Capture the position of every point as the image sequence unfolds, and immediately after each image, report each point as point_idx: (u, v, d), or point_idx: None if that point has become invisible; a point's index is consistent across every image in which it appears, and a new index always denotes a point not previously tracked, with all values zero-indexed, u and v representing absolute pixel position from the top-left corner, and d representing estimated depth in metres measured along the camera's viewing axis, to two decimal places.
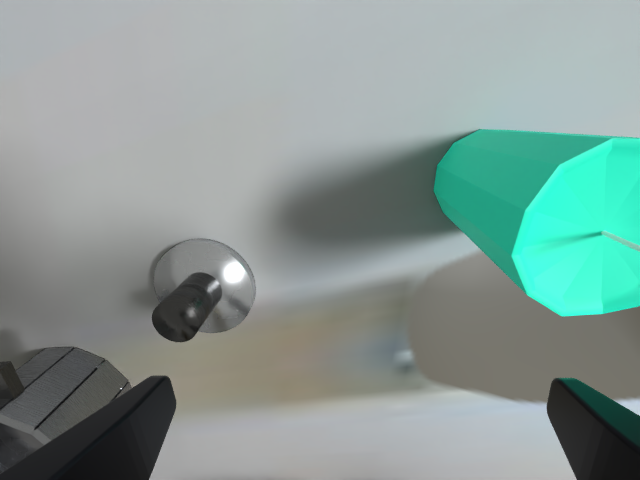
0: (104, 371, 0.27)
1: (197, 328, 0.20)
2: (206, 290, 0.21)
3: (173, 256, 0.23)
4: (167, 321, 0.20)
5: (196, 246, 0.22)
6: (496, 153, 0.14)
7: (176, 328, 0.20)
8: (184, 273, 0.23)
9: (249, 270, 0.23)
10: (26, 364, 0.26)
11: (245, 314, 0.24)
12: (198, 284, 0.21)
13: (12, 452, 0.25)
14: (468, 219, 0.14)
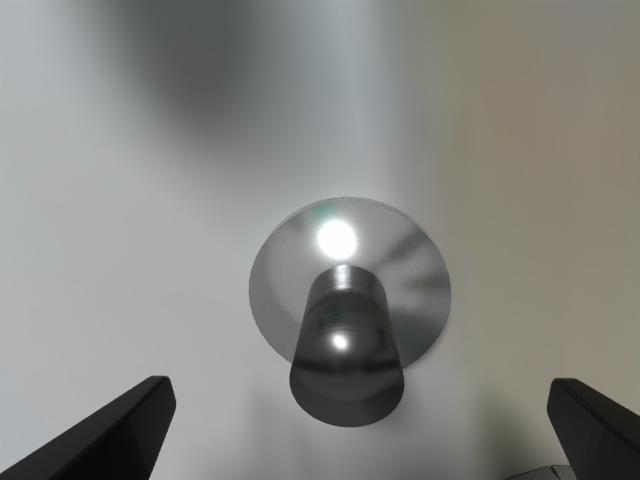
0: None
1: (366, 339, 0.08)
2: (318, 295, 0.10)
3: (278, 336, 0.13)
4: (343, 398, 0.08)
5: (257, 295, 0.12)
6: None
7: (363, 384, 0.08)
8: None
9: (312, 204, 0.11)
10: None
11: (409, 225, 0.11)
12: (307, 308, 0.10)
13: None
14: None
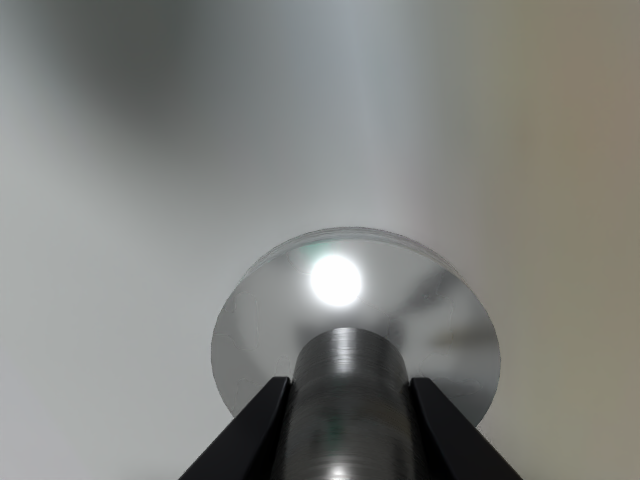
0: None
1: None
2: (306, 387, 0.06)
3: None
4: None
5: (223, 365, 0.09)
6: None
7: None
8: None
9: (300, 240, 0.08)
10: None
11: (443, 274, 0.07)
12: (289, 403, 0.07)
13: None
14: None
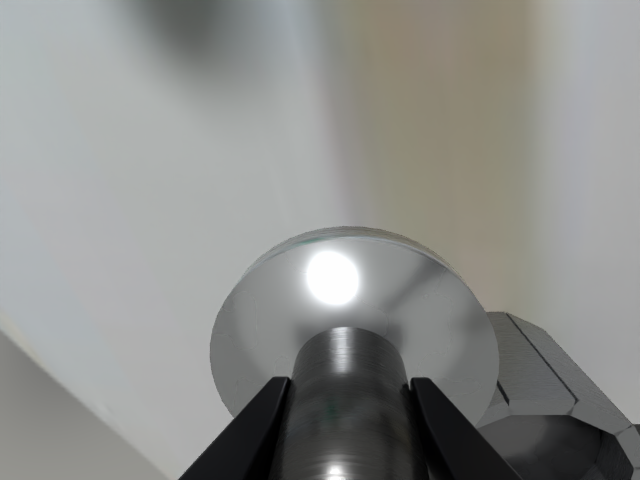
0: None
1: None
2: (305, 386, 0.06)
3: None
4: None
5: (221, 364, 0.09)
6: None
7: None
8: None
9: (299, 239, 0.08)
10: None
11: (442, 273, 0.07)
12: (288, 402, 0.07)
13: (523, 478, 0.17)
14: None
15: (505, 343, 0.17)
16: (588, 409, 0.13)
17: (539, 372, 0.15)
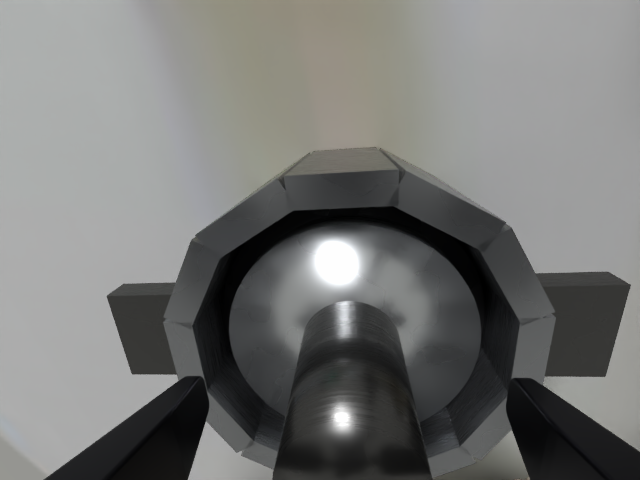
0: None
1: (381, 432, 0.05)
2: (314, 347, 0.08)
3: (266, 384, 0.10)
4: None
5: (239, 336, 0.10)
6: None
7: None
8: None
9: (307, 225, 0.09)
10: None
11: (431, 253, 0.08)
12: (299, 361, 0.08)
13: None
14: None
15: (346, 155, 0.11)
16: (424, 191, 0.07)
17: (368, 162, 0.09)
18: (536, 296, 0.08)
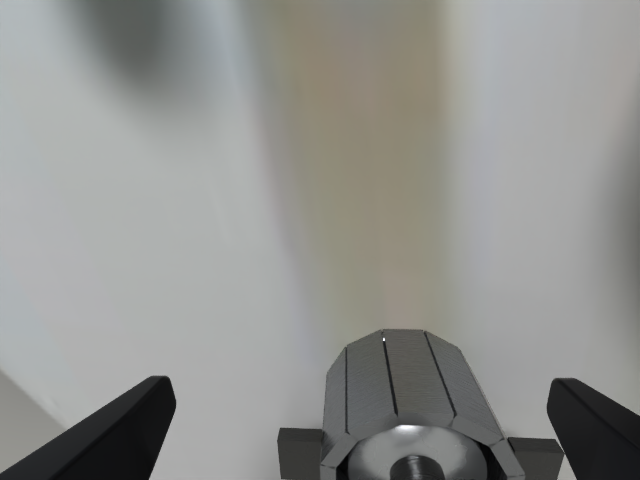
0: (354, 349, 0.21)
1: None
2: None
3: None
4: None
5: (354, 467, 0.18)
6: None
7: None
8: None
9: None
10: None
11: (463, 437, 0.16)
12: None
13: None
14: None
15: (413, 359, 0.18)
16: (465, 422, 0.15)
17: (432, 388, 0.16)
18: (516, 467, 0.16)
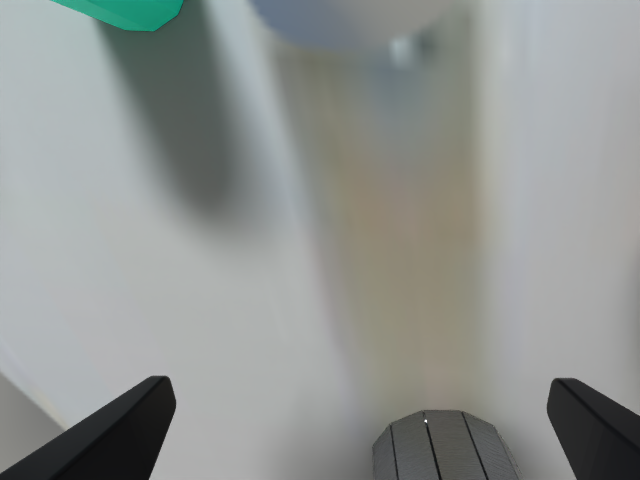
0: (399, 430, 0.23)
1: None
2: None
3: None
4: None
5: None
6: None
7: None
8: None
9: None
10: None
11: None
12: None
13: None
14: None
15: (456, 448, 0.21)
16: None
17: None
18: None
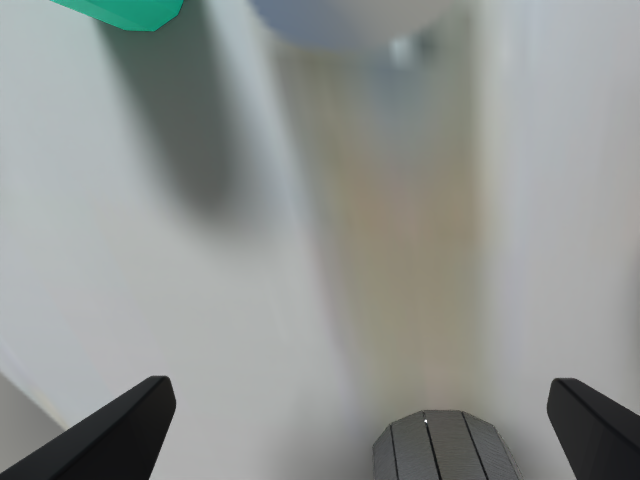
0: (399, 430, 0.23)
1: None
2: None
3: None
4: None
5: None
6: None
7: None
8: None
9: None
10: None
11: None
12: None
13: None
14: None
15: (456, 448, 0.21)
16: None
17: None
18: None
